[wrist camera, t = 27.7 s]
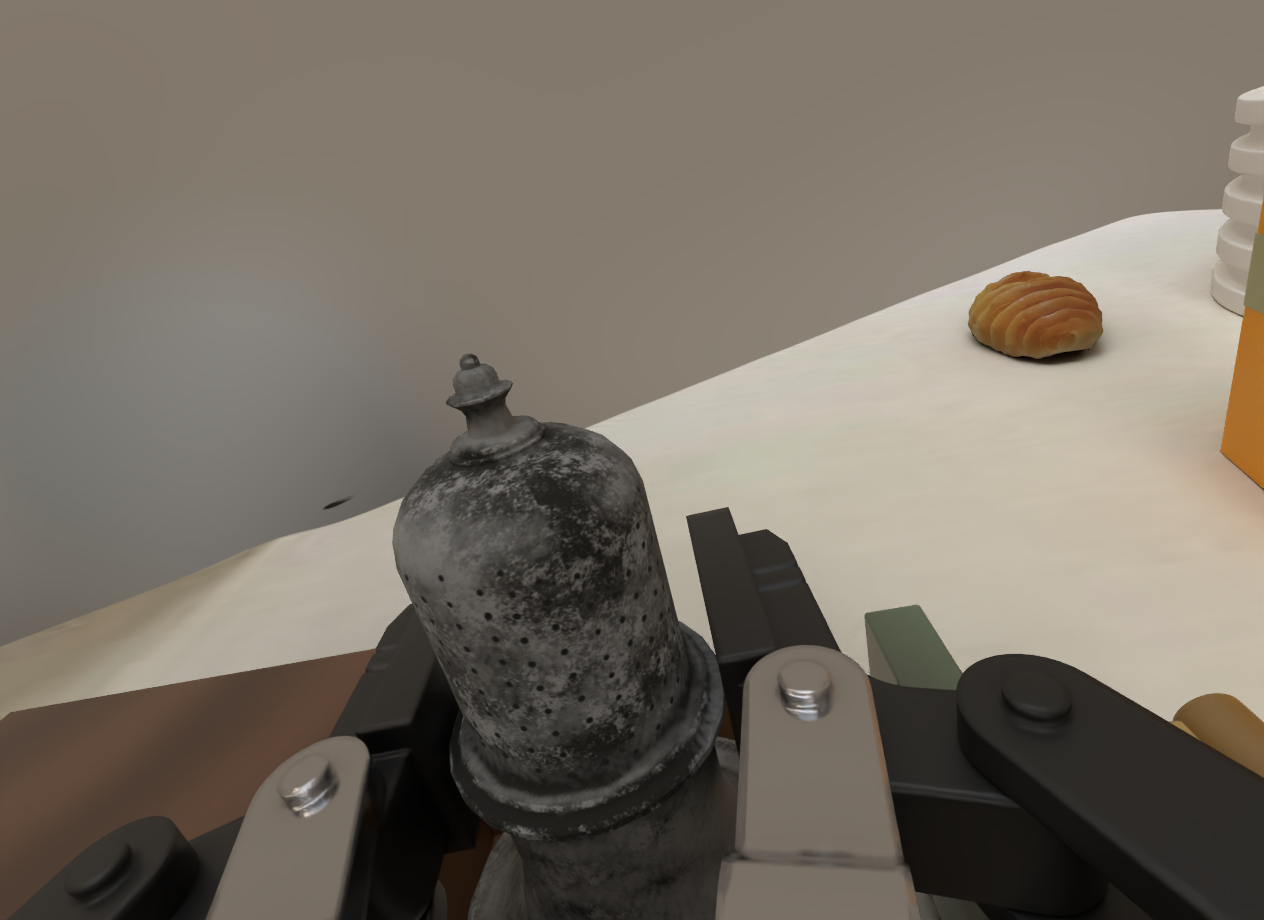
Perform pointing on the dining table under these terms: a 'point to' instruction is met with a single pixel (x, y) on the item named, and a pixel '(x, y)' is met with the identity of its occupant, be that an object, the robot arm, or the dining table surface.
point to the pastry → (1035, 315)
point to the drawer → (919, 660)
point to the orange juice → (1249, 375)
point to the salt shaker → (567, 672)
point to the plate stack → (1241, 205)
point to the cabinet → (153, 759)
